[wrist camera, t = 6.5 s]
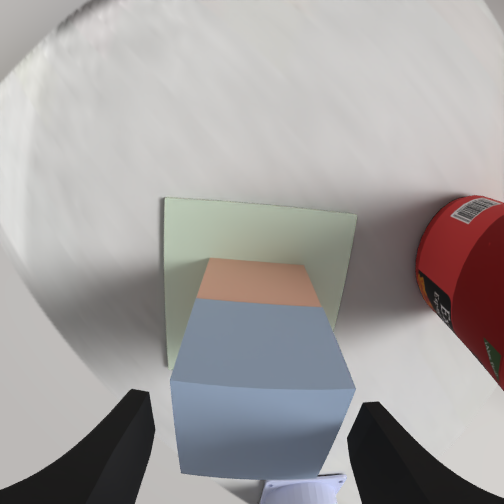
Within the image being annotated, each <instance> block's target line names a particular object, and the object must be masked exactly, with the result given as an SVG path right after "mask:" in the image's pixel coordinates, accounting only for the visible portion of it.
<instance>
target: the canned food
mask: <svg viewBox="0 0 504 504" xmlns="http://www.w3.org/2000/svg"><path fill="white" fill-rule="evenodd" d="M415 272H416V278H417V283H418V285H419V288H420V291H421V294H422V296H423V298H424V300H425V301H426V303H427V304H428V305H429V306H430V308H431V309H432V310H433V311H434V312H435V313H436V314H437V315H438V316H439V317H440V318H441V319H442V320H443V321H444V322H445V323H446V325H447V326H448V327H449V328H450V329H451V330H452V331H453V332H454V333H455V334H456V335H457V337H458V338H459V339H460V340H461V341H462V342H463V343H464V344H465V346H466V347H467V348H468V349H469V350H470V351H471V352H472V354H473V355H474V356H475V357H476V358H477V359H478V361H479V362H480V363H481V364H482V365H483V366H484V368H485V369H486V370H487V371H488V372H489V374H490V375H491V376H492V377H493V378H494V380H495V381H496V382H497V383H498V385H499V386H500V387H501V388H502V389H503V391H504V203H503V202H500V201H497V200H494V199H491V198H487V197H484V196H477V195H473V196H468V197H463V198H458V199H456V200H454V201H452V202H450V203H448V204H447V205H446V206H444V207H443V208H442V209H441V210H440V211H439V212H438V213H437V214H436V215H435V216H434V217H433V219H432V220H431V222H430V223H429V225H428V226H427V228H426V230H425V232H424V234H423V236H422V238H421V241H420V244H419V247H418V251H417V257H416V271H415Z"/></svg>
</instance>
